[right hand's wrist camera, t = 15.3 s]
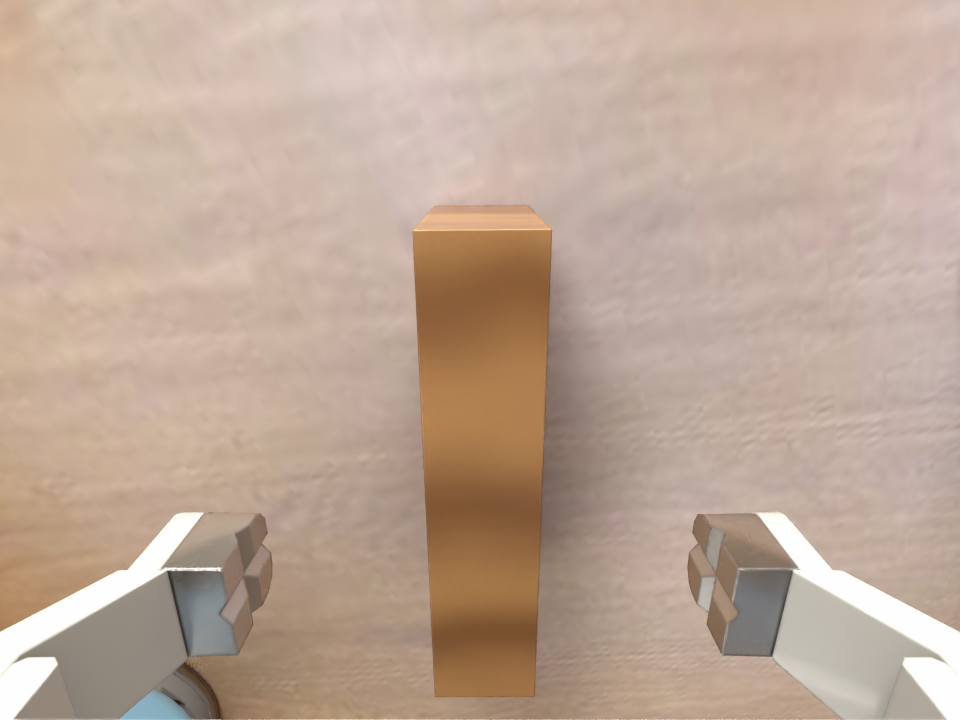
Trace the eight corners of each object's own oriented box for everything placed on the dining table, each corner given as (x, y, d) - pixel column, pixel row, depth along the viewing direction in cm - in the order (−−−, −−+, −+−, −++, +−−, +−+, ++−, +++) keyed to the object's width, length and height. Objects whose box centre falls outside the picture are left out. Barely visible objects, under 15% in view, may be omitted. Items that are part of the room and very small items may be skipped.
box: (433, 205, 35) (412, 229, 24) (529, 205, 35) (552, 228, 24) (446, 562, 45) (434, 697, 34) (521, 561, 45) (534, 697, 34)
